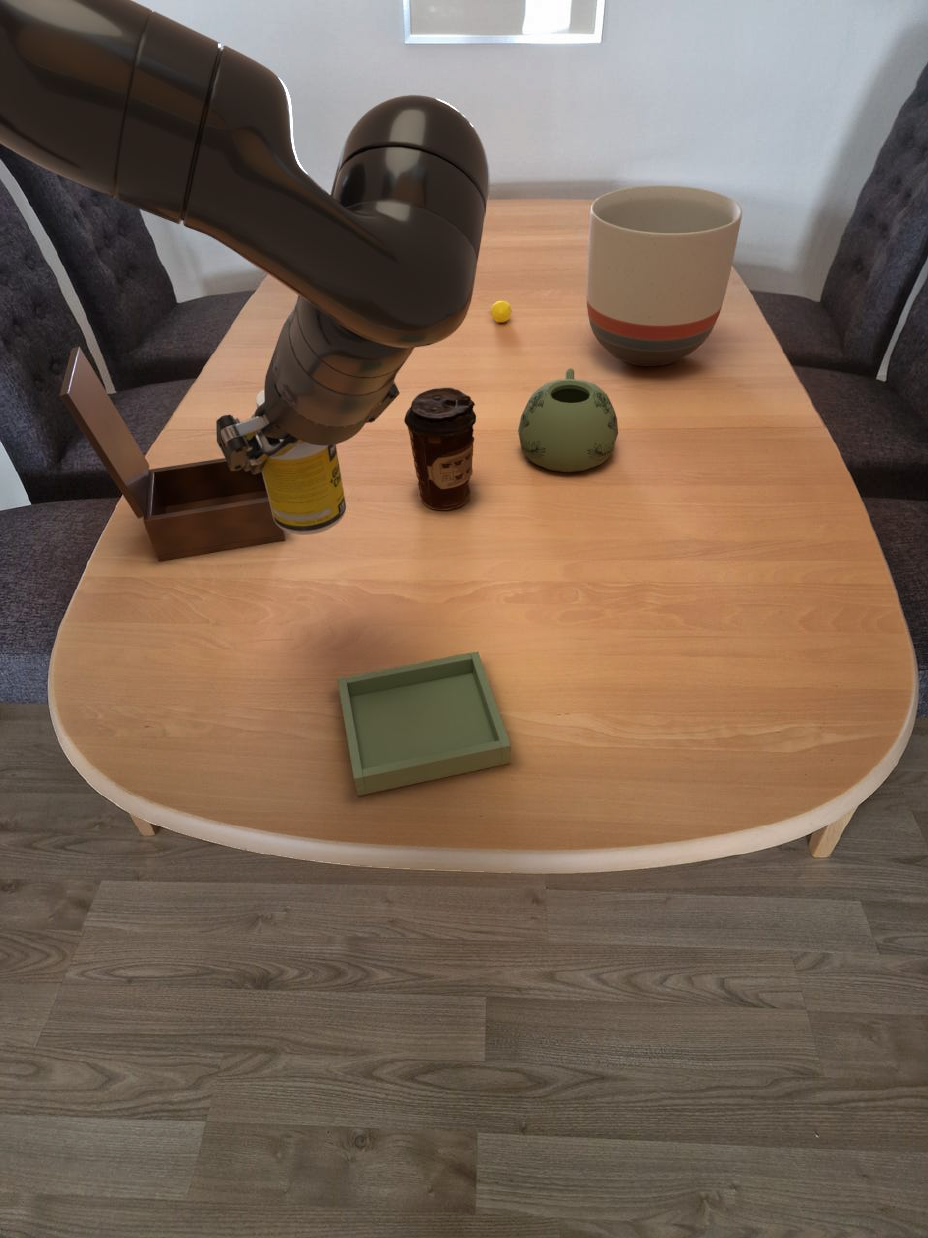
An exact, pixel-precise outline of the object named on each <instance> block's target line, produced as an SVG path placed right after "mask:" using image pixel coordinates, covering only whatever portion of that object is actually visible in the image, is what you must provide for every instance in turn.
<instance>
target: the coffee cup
mask: <svg viewBox="0 0 928 1238" xmlns="http://www.w3.org/2000/svg"><path fill="white" fill-rule="evenodd" d="M474 406H476V404H475V402H474V401H473V400H472V398H471V396H470V395H467V394H466V393H464V392H462V391H461V390H460V389H457V388H453V387H437V388H432V389H428V390H424V391H423V392H421V393H418V394H417V395H416V396H415V397H414V398H413V400H412V401H411V404H410V407H409V408H408V409H407V411H406V412H405V415H404V419H403V421H404V424H405V425H406V427H407V430H408V435H409V440H410V441H409V442H410V447H411V454H412V458H413V465H414V469H415V475H416V478H417V480H418V481H417V486H418V490H419V496H420V499H421V502H422V503H423V504H424V505H425V506H426V507H428V508H429V509H432V510H439V511H448V510H453V509H456V508H459V507H461V506H463V505H465V504H466V503H467V502H468V501H469V499H470V497H471V492H472V491H471V488H470V485H469V482H470V479H471V477H472V475H473V471H474V470H473V457H474V442H475V437H474V431H475V429H474V425H475V424H476V422H477V415H476V412H475V411H474Z"/></svg>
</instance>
